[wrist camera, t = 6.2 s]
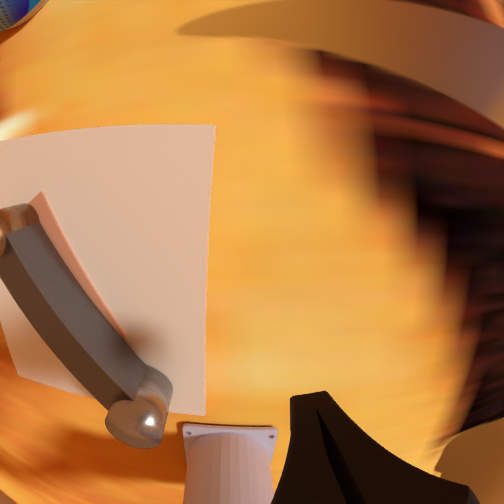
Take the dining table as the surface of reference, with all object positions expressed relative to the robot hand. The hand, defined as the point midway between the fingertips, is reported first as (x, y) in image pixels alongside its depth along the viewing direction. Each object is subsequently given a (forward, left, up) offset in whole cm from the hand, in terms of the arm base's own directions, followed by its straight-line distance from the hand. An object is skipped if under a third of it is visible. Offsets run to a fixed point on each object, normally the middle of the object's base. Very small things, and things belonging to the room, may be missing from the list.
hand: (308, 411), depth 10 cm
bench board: (+1, +13, -9) cm, 16 cm away
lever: (-1, +13, -8) cm, 15 cm away
